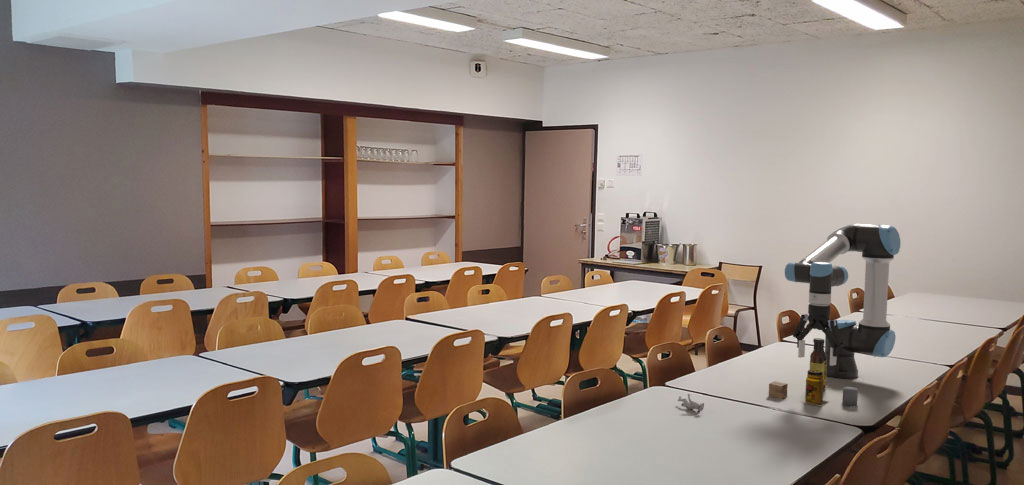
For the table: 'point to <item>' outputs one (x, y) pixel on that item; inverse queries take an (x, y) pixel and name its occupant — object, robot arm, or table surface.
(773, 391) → the walnut block
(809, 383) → the condiment
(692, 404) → the soldier figure
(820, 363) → the sauce bottle
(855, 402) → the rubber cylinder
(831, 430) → the table surface
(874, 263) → the robot arm
